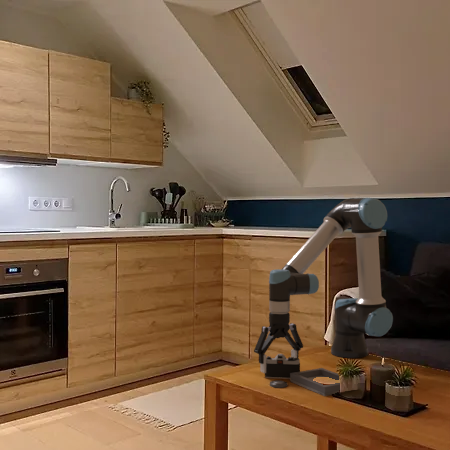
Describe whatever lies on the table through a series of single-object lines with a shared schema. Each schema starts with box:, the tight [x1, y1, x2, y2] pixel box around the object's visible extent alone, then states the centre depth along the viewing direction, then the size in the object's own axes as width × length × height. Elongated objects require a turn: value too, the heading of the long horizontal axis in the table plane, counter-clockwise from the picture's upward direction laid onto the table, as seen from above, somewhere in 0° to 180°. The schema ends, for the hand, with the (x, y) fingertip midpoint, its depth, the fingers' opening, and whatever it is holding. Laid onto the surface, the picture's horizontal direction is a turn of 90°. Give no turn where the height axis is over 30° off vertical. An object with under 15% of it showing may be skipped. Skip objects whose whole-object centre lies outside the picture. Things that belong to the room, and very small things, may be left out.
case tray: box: [289, 367, 340, 397], centre depth 209 cm, size 14×19×3 cm
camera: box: [264, 353, 301, 380], centre depth 221 cm, size 13×8×9 cm, turn 85°
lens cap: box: [269, 379, 288, 389], centre depth 209 cm, size 6×6×2 cm
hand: (278, 370), depth 223 cm, fingers open, 13 cm apart
